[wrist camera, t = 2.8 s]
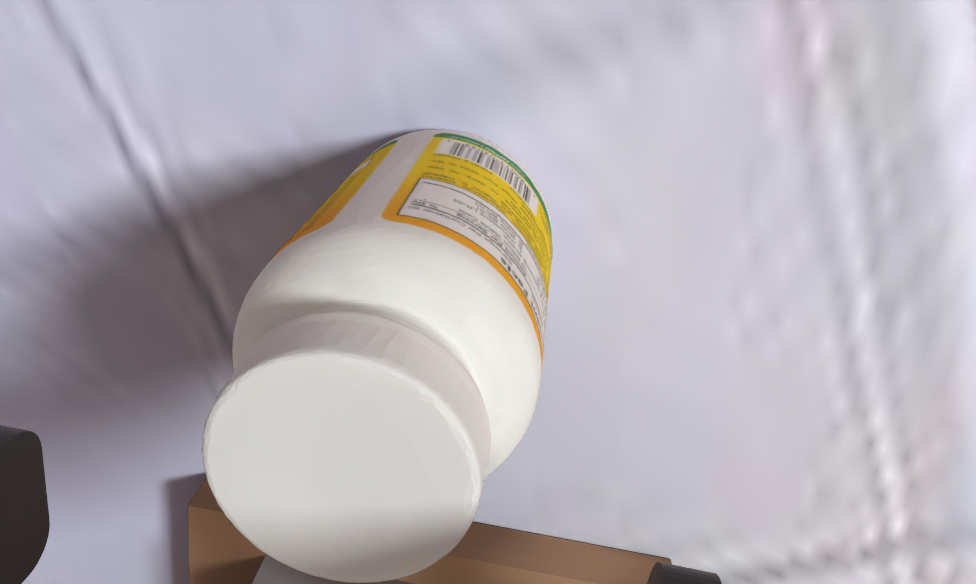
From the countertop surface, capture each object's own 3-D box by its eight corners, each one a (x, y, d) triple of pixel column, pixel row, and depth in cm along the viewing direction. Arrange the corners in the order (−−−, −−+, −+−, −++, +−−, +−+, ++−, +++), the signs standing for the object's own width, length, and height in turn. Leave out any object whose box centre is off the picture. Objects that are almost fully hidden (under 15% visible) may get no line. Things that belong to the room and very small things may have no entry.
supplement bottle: (538, 109, 18) (507, 284, 9) (564, 317, 20) (558, 613, 12) (315, 140, 19) (96, 325, 10) (364, 335, 21) (217, 625, 12)
